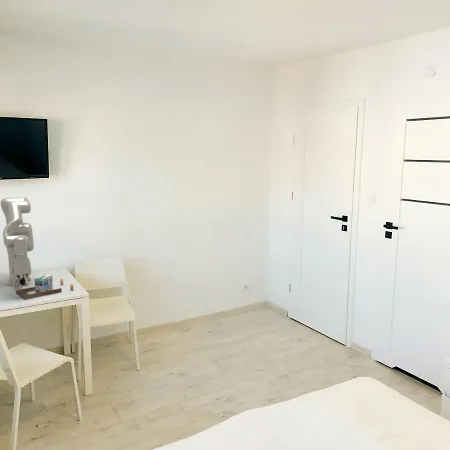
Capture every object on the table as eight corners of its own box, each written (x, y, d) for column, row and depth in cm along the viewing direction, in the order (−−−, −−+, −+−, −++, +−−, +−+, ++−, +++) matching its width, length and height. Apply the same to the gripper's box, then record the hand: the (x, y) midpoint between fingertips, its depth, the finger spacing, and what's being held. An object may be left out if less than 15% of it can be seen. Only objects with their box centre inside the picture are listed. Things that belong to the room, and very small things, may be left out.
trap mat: (16, 294, 297) (16, 294, 297) (26, 292, 301) (26, 292, 301) (23, 299, 288) (23, 298, 288) (33, 297, 292) (33, 296, 292)
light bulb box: (44, 294, 297) (43, 278, 295) (34, 294, 299) (33, 278, 297) (53, 290, 308) (52, 274, 306) (44, 289, 309) (43, 273, 307)
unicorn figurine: (9, 292, 302) (8, 272, 300) (20, 283, 321) (19, 264, 319) (20, 292, 302) (19, 272, 300) (31, 283, 322) (30, 264, 319)
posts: (59, 284, 319) (59, 279, 319) (62, 284, 321) (62, 278, 320) (71, 290, 306) (70, 285, 306) (74, 290, 308) (73, 284, 307)
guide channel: (15, 293, 298) (15, 290, 298) (52, 286, 314) (51, 283, 314) (24, 299, 287) (24, 295, 287) (61, 292, 303) (61, 288, 303)
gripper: (10, 259, 282) (12, 288, 284) (35, 255, 292) (36, 283, 294) (6, 257, 287) (8, 285, 290) (30, 254, 297) (32, 281, 300)
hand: (22, 284), depth 292 cm, fingers closed
